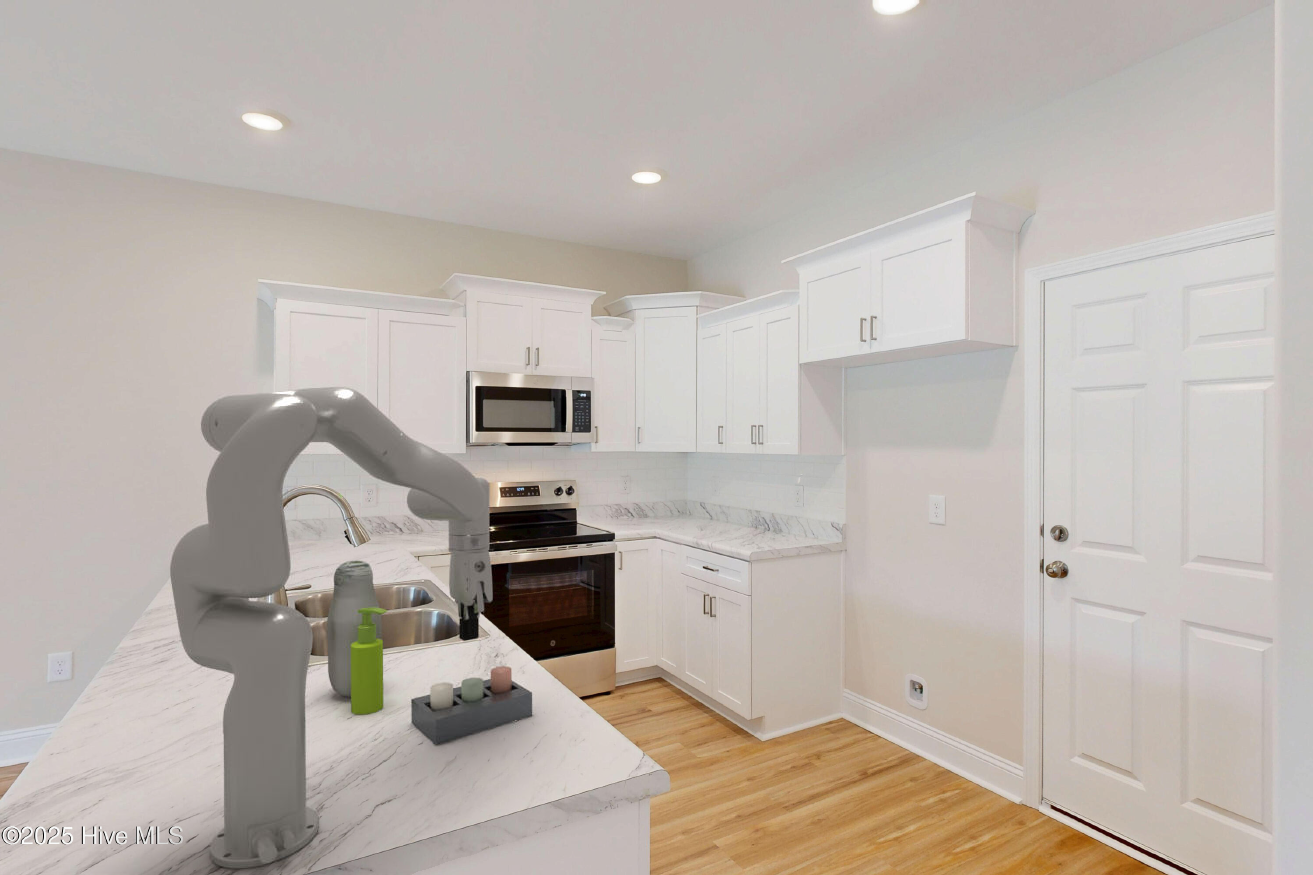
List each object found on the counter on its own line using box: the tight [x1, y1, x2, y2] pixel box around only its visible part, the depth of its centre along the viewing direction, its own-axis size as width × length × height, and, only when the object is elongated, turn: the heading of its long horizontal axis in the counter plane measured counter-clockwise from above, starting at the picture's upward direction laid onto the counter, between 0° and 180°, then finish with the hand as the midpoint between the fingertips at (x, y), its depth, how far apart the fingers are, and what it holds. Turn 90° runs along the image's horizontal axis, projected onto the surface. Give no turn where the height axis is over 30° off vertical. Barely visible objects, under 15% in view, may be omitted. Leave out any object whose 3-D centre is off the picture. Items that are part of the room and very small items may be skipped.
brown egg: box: [490, 666, 513, 695], centre depth 131 cm, size 4×4×5 cm
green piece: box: [460, 677, 484, 703], centre depth 127 cm, size 4×4×5 cm
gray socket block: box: [410, 678, 533, 746], centre depth 127 cm, size 12×19×4 cm, turn 130°
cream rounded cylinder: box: [429, 682, 454, 712], centre depth 124 cm, size 4×4×5 cm
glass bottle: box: [326, 560, 383, 698], centre depth 140 cm, size 10×10×28 cm
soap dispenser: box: [350, 607, 388, 716], centre depth 133 cm, size 6×7×20 cm
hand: (469, 638), depth 127 cm, fingers closed
